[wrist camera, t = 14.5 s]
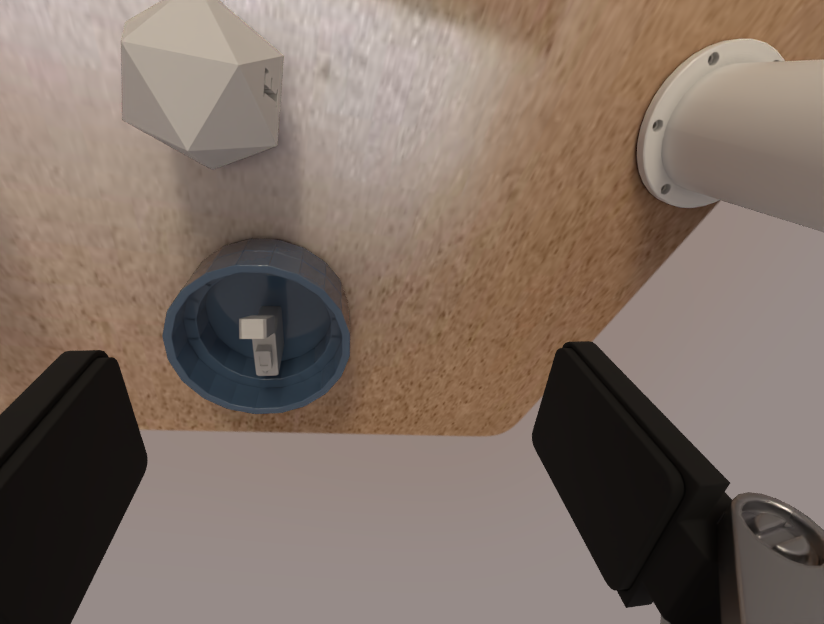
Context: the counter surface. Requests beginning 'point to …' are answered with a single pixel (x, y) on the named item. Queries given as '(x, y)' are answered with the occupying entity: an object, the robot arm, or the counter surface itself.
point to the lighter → (265, 338)
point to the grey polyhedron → (201, 81)
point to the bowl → (244, 296)
